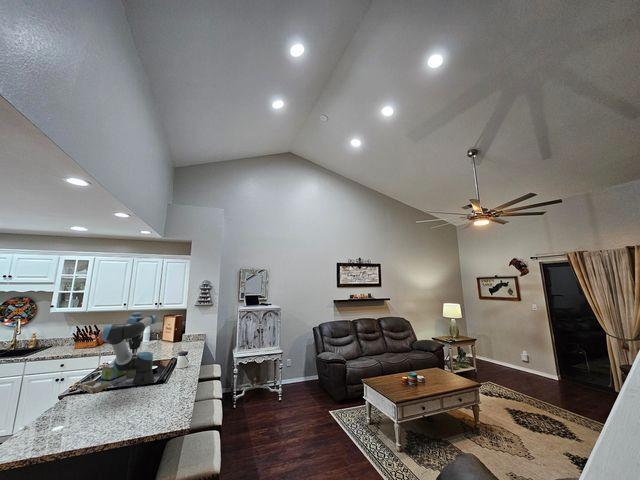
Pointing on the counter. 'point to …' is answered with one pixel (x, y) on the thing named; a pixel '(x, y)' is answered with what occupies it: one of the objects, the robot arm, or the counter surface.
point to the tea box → (111, 375)
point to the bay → (91, 389)
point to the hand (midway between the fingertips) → (134, 356)
